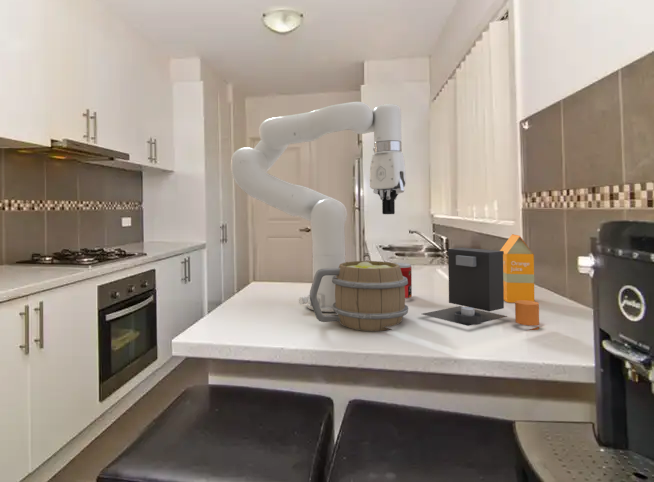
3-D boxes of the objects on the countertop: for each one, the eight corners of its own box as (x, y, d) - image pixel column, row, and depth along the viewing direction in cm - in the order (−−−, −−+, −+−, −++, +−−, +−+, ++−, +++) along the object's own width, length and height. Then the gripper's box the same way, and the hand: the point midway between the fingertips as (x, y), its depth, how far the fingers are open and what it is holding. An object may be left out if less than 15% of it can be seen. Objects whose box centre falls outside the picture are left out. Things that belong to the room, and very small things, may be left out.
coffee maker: (486, 312, 111) (485, 253, 111) (444, 303, 122) (444, 249, 122) (504, 308, 115) (503, 251, 115) (462, 300, 126) (462, 247, 126)
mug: (303, 316, 121) (302, 260, 121) (391, 312, 124) (391, 258, 124) (317, 336, 102) (317, 270, 102) (421, 331, 105) (420, 267, 106)
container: (531, 331, 105) (531, 305, 105) (511, 326, 109) (510, 301, 109) (543, 328, 108) (543, 303, 108) (522, 323, 112) (522, 299, 112)
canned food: (414, 301, 138) (414, 265, 138) (388, 301, 138) (388, 265, 138) (407, 296, 146) (407, 262, 146) (383, 296, 146) (382, 262, 146)
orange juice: (506, 302, 136) (505, 235, 136) (499, 296, 144) (498, 233, 145) (535, 303, 134) (534, 235, 134) (526, 297, 143) (525, 233, 143)
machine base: (469, 331, 106) (469, 318, 106) (420, 318, 118) (420, 306, 118) (509, 321, 114) (509, 309, 114) (459, 310, 126) (459, 299, 126)
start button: (469, 317, 108) (469, 310, 108) (458, 315, 111) (458, 307, 111) (477, 315, 110) (477, 308, 110) (466, 313, 112) (466, 306, 112)
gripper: (359, 151, 132) (360, 214, 132) (398, 145, 119) (399, 214, 119) (378, 152, 136) (379, 213, 136) (417, 146, 123) (418, 214, 123)
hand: (388, 214), depth 127 cm, fingers closed
